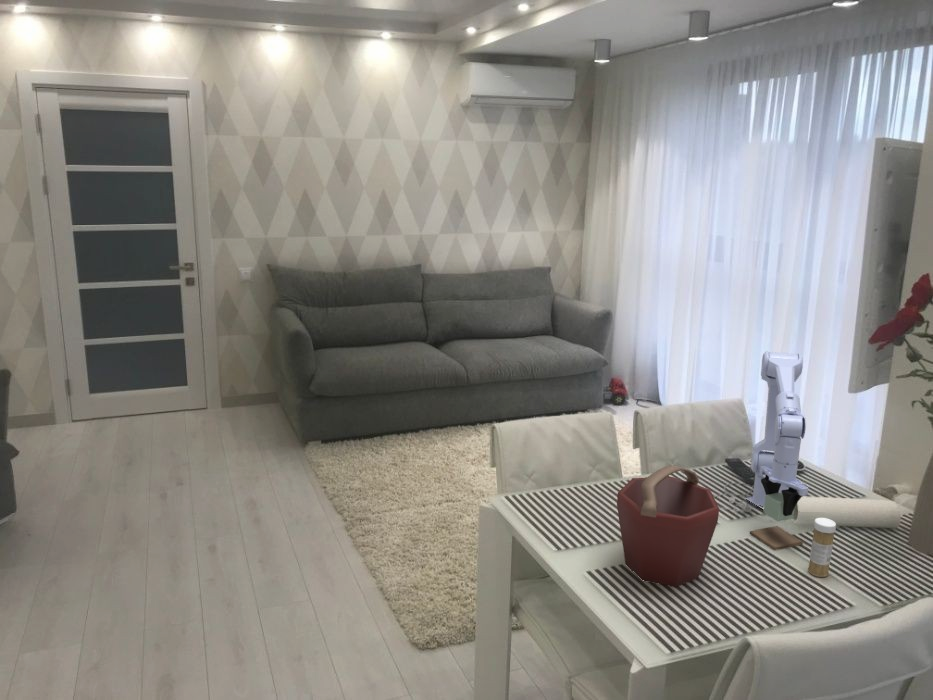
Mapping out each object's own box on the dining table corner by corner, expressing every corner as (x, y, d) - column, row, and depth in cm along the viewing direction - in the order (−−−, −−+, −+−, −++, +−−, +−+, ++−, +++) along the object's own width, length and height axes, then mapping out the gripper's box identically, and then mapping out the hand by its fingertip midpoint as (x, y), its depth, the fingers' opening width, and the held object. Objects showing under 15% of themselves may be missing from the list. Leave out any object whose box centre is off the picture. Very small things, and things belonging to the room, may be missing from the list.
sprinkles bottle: (816, 566, 179) (823, 515, 176) (832, 575, 175) (840, 523, 172) (803, 570, 177) (810, 519, 174) (819, 580, 173) (827, 527, 170)
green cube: (779, 510, 193) (781, 492, 192) (793, 518, 189) (795, 500, 188) (763, 512, 192) (765, 494, 190) (777, 521, 187) (779, 503, 186)
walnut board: (776, 528, 198) (777, 525, 197) (802, 544, 189) (802, 541, 189) (749, 533, 194) (749, 531, 194) (774, 550, 186) (774, 547, 186)
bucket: (657, 604, 163) (666, 499, 157) (589, 559, 181) (595, 463, 175) (731, 573, 175) (742, 475, 169) (661, 534, 193) (669, 444, 187)
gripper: (752, 452, 192) (747, 500, 195) (794, 473, 179) (788, 525, 182) (774, 448, 194) (768, 496, 198) (817, 469, 181) (810, 520, 184)
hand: (779, 510), depth 190 cm, fingers closed on green cube, 5 cm apart
